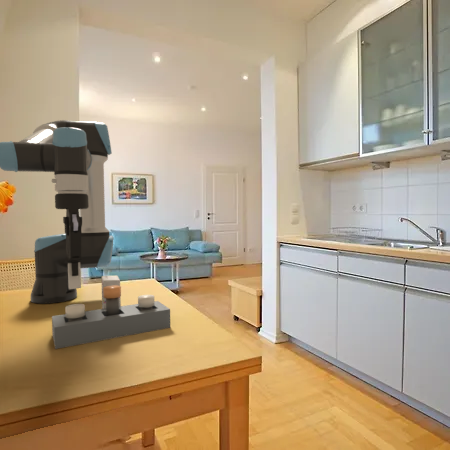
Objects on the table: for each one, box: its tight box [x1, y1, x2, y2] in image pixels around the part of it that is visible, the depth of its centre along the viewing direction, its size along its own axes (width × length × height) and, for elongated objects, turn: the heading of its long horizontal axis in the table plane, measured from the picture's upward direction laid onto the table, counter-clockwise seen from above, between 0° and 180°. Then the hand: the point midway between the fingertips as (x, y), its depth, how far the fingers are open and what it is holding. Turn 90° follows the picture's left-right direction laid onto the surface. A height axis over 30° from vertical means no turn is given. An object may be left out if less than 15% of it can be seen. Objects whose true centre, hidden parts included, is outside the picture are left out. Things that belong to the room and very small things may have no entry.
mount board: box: [51, 300, 171, 350], centre depth 91 cm, size 10×28×5 cm, turn 120°
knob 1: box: [65, 303, 86, 322], centre depth 87 cm, size 4×4×7 cm
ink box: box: [101, 274, 122, 309], centre depth 104 cm, size 8×5×12 cm, turn 23°
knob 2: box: [137, 294, 155, 311], centre depth 95 cm, size 4×4×7 cm
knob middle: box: [103, 285, 122, 316], centre depth 91 cm, size 4×4×7 cm
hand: (74, 287), depth 87 cm, fingers closed
